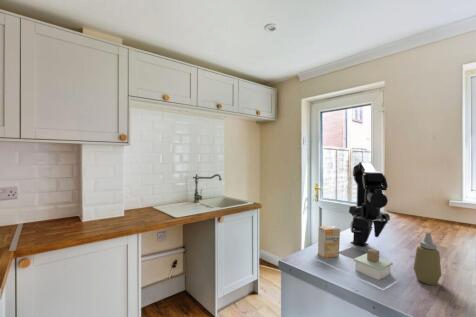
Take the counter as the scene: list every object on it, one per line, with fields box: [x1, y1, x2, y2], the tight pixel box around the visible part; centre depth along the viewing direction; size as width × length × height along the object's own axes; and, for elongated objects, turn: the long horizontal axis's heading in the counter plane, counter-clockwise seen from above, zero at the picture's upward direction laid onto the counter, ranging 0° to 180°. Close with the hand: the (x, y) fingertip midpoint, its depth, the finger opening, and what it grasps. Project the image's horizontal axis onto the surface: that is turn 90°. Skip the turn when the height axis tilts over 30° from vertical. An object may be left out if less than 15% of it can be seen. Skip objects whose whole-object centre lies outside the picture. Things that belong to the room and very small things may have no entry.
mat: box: [339, 246, 381, 260], centre depth 110 cm, size 13×13×1 cm
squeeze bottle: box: [413, 231, 442, 286], centre depth 88 cm, size 8×8×18 cm
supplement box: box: [317, 225, 341, 259], centre depth 109 cm, size 8×5×13 cm, turn 105°
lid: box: [353, 248, 394, 271], centre depth 94 cm, size 10×10×5 cm
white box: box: [354, 262, 392, 281], centre depth 94 cm, size 9×9×4 cm
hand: (370, 239), depth 99 cm, fingers open, 9 cm apart
